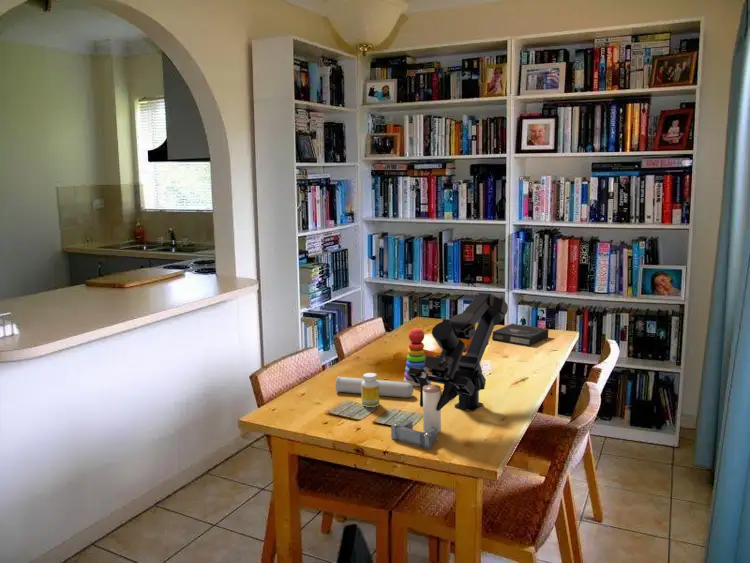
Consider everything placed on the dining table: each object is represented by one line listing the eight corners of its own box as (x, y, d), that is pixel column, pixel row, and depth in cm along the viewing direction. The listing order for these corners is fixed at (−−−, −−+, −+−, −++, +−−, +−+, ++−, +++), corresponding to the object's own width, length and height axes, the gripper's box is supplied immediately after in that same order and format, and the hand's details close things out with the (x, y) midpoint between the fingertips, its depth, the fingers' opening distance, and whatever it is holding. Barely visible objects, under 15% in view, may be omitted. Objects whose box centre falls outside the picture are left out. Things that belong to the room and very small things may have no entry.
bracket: (404, 431, 179) (404, 417, 179) (441, 441, 172) (441, 427, 171) (391, 438, 175) (391, 424, 174) (428, 449, 167) (428, 435, 167)
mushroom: (429, 424, 181) (429, 383, 179) (444, 428, 178) (444, 386, 176) (419, 430, 177) (419, 388, 175) (434, 434, 174) (434, 391, 172)
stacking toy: (415, 389, 212) (414, 333, 209) (398, 383, 218) (397, 328, 215) (432, 383, 217) (432, 328, 214) (416, 377, 223) (415, 324, 220)
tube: (415, 382, 207) (341, 375, 215) (412, 382, 202) (336, 375, 209) (414, 399, 207) (340, 392, 214) (410, 399, 202) (334, 392, 209)
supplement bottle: (360, 402, 201) (359, 372, 199) (376, 400, 202) (376, 371, 201) (364, 409, 196) (363, 378, 194) (381, 407, 197) (380, 376, 196)
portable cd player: (492, 341, 267) (492, 331, 266) (512, 332, 280) (512, 323, 279) (528, 348, 257) (529, 338, 256) (548, 338, 269) (548, 329, 269)
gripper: (410, 338, 182) (387, 387, 175) (469, 348, 171) (448, 401, 164) (425, 358, 190) (405, 406, 183) (483, 369, 179) (463, 420, 172)
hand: (429, 408), depth 175 cm, fingers closed on mushroom, 5 cm apart
